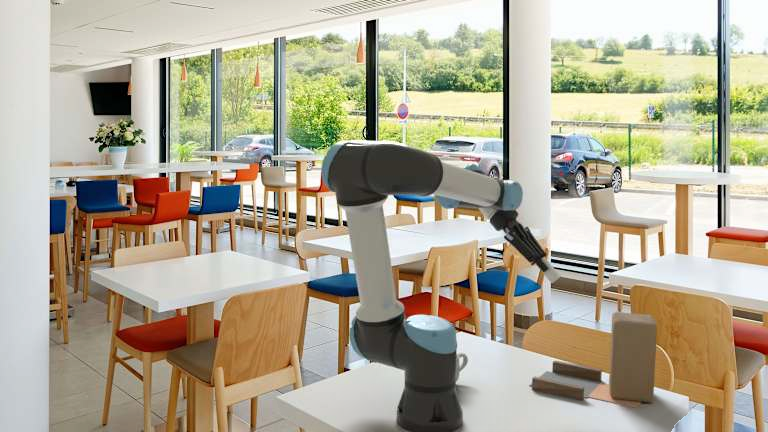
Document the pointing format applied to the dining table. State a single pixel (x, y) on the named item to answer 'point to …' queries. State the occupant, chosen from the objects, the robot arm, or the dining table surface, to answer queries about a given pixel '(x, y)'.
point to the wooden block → (632, 357)
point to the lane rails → (565, 388)
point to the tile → (604, 394)
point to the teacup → (464, 363)
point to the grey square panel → (572, 381)
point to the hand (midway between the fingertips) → (556, 279)
